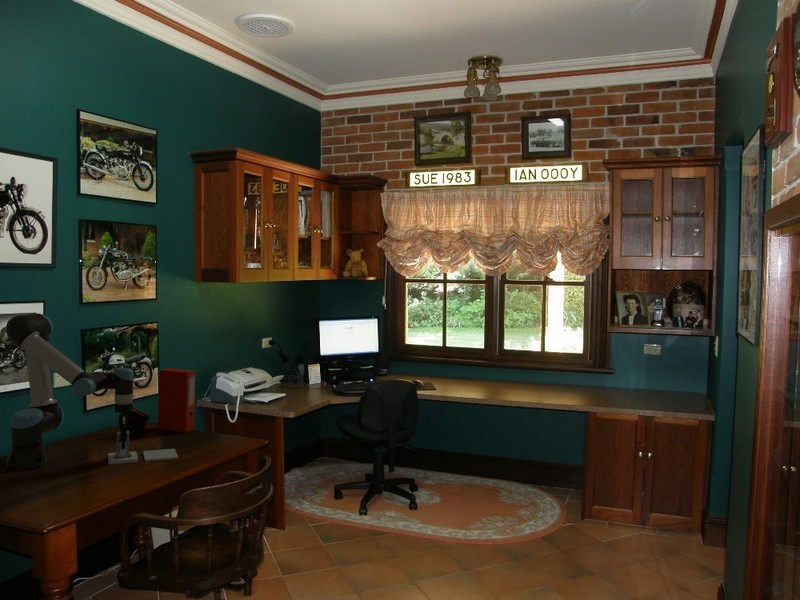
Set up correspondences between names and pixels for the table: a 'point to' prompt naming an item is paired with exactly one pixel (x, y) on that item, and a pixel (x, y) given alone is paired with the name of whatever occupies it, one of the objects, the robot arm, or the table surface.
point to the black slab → (136, 423)
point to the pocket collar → (122, 460)
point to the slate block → (119, 446)
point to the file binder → (176, 400)
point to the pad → (160, 455)
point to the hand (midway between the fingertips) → (122, 453)
